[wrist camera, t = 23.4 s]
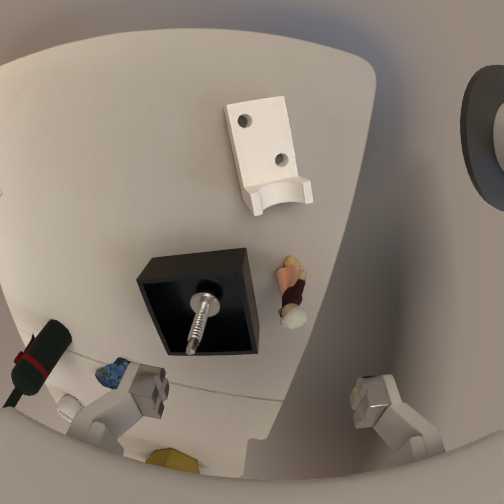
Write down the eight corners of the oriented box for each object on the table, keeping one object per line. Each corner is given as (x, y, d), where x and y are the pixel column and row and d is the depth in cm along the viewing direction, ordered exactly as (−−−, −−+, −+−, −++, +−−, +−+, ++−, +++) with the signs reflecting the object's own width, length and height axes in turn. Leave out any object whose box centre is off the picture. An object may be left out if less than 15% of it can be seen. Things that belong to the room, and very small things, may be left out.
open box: (246, 247, 42) (242, 270, 36) (259, 326, 49) (258, 353, 43) (151, 257, 44) (135, 279, 38) (177, 330, 51) (168, 355, 45)
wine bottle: (38, 312, 54) (-26, 396, 27) (68, 325, 54) (5, 420, 27) (46, 334, 57) (-9, 416, 30) (74, 347, 57) (21, 438, 31)
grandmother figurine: (281, 248, 42) (284, 298, 31) (305, 252, 42) (317, 303, 31) (270, 290, 46) (270, 345, 34) (293, 293, 46) (299, 349, 34)
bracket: (292, 189, 39) (313, 202, 32) (243, 200, 38) (254, 216, 32) (275, 99, 33) (295, 91, 27) (223, 108, 33) (230, 101, 26)
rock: (92, 372, 61) (90, 377, 59) (122, 352, 56) (119, 358, 54) (134, 402, 66) (132, 407, 64) (169, 387, 61) (167, 393, 59)
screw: (190, 303, 47) (196, 281, 45) (217, 312, 47) (225, 290, 45) (169, 359, 35) (174, 337, 33) (203, 370, 36) (211, 348, 34)
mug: (60, 389, 70) (51, 405, 63) (78, 396, 70) (69, 413, 63) (72, 407, 76) (65, 423, 69) (90, 414, 75) (83, 430, 68)
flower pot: (169, 442, 77) (159, 482, 62) (209, 461, 83) (203, 498, 68) (142, 447, 84) (132, 481, 69) (179, 465, 89) (173, 497, 74)
